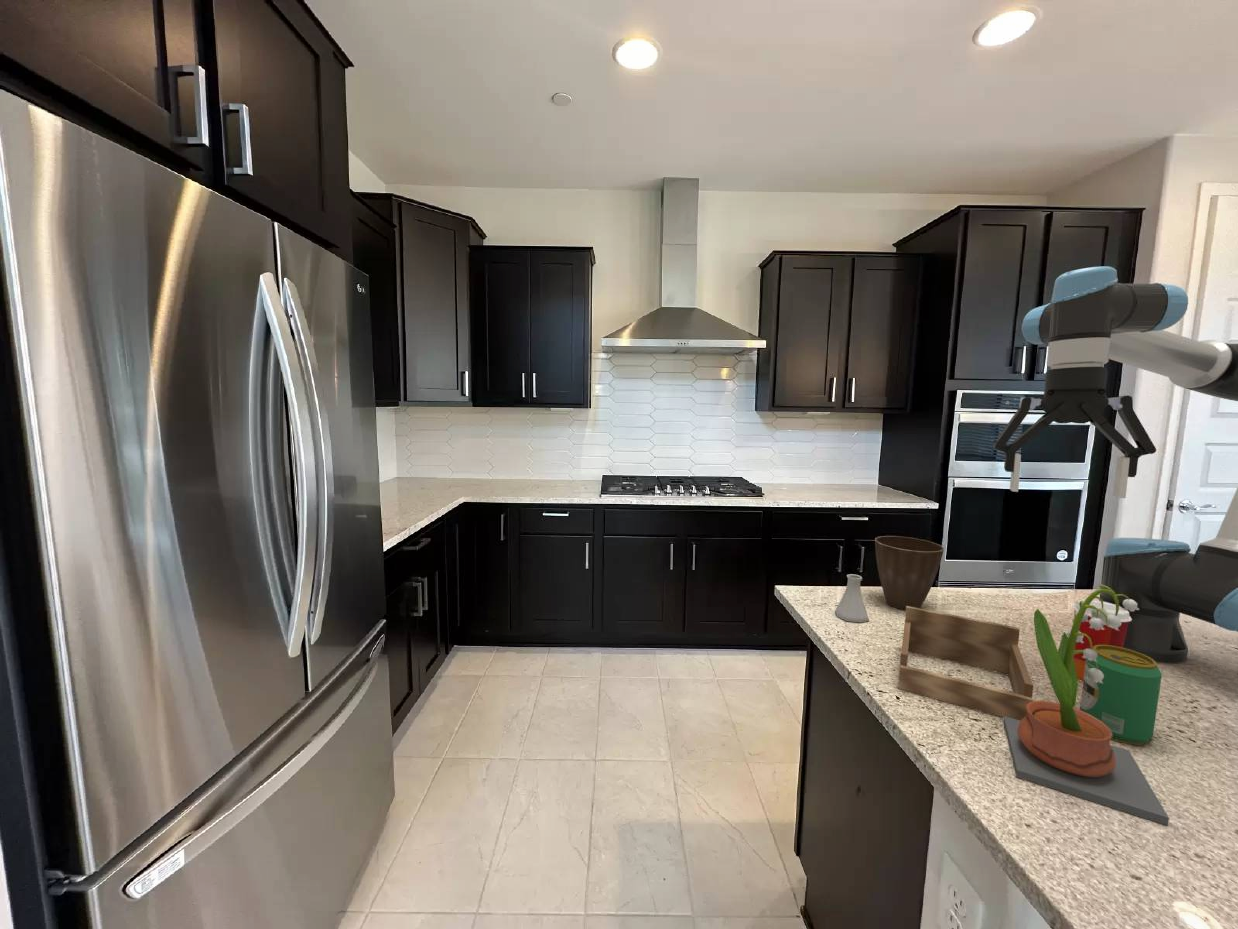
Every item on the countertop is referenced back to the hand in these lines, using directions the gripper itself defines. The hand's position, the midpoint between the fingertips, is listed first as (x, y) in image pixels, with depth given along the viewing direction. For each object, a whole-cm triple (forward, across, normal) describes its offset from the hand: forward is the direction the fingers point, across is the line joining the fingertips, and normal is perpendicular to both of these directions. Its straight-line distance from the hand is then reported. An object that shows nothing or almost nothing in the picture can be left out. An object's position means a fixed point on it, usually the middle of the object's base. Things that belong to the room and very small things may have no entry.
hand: (1064, 493), depth 84 cm
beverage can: (+35, -6, +10) cm, 37 cm away
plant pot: (+35, +22, -30) cm, 51 cm away
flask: (+35, +33, -14) cm, 50 cm away
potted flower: (+34, +2, +24) cm, 42 cm away
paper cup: (+35, -8, -8) cm, 37 cm away
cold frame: (+34, +14, +6) cm, 38 cm away
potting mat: (+34, +2, +24) cm, 42 cm away
